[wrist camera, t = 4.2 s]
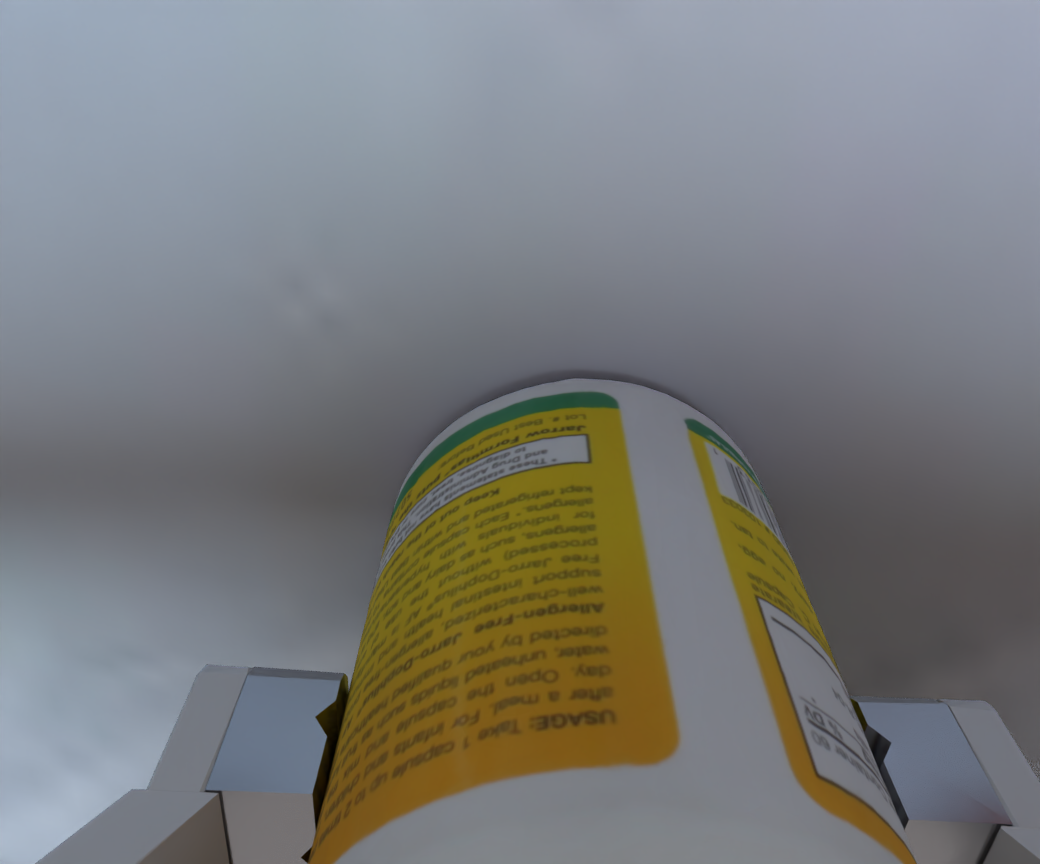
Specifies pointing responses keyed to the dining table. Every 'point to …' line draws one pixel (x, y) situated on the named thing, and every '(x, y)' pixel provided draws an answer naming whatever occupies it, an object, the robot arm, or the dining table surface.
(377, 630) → the supplement bottle
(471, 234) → the dining table surface
